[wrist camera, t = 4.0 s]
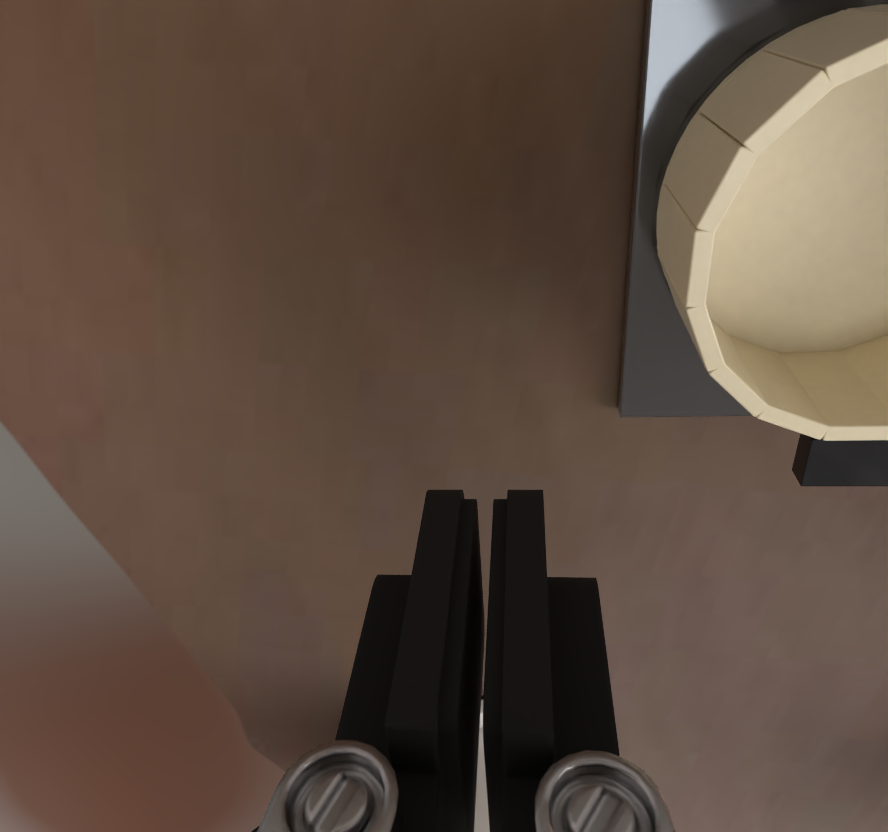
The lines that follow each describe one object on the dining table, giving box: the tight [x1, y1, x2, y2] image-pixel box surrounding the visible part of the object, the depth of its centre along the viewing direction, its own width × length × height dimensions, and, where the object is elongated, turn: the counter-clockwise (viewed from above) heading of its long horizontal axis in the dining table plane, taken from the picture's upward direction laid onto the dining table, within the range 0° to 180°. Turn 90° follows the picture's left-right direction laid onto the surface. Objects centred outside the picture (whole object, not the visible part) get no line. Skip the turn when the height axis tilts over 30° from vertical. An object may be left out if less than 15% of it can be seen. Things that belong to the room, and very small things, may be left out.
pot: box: [656, 4, 888, 486], centre depth 22 cm, size 12×16×6 cm
